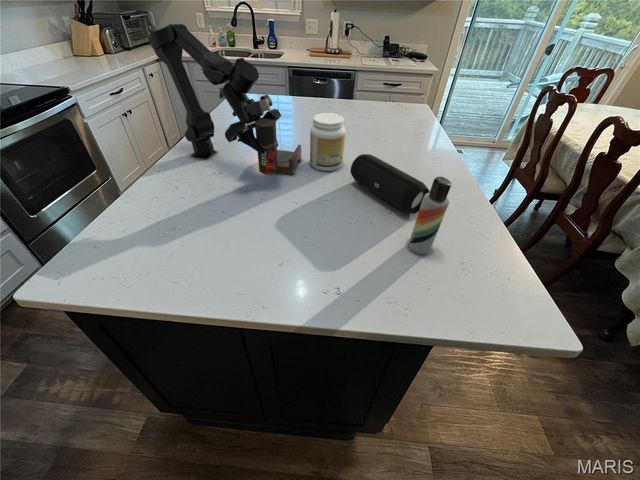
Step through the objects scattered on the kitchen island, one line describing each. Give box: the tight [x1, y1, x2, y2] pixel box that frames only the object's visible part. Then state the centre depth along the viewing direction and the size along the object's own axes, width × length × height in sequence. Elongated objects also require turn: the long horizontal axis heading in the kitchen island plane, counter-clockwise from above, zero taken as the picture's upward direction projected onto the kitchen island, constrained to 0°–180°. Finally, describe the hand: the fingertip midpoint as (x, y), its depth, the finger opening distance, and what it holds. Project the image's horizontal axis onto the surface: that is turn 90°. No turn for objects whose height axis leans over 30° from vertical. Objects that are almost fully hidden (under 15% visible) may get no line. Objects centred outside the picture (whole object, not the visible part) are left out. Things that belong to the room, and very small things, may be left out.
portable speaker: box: [350, 153, 430, 215], centre depth 92 cm, size 26×10×10 cm, turn 37°
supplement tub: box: [309, 112, 346, 172], centre depth 104 cm, size 12×12×17 cm
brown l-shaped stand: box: [275, 144, 302, 176], centre depth 106 cm, size 11×12×6 cm
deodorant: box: [254, 119, 278, 175], centre depth 89 cm, size 6×6×15 cm
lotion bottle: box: [408, 176, 453, 255], centre depth 70 cm, size 6×6×20 cm
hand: (270, 150), depth 89 cm, fingers closed on deodorant, 6 cm apart
